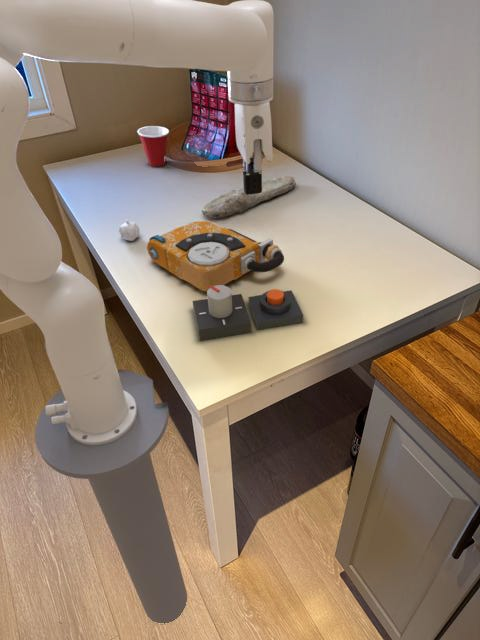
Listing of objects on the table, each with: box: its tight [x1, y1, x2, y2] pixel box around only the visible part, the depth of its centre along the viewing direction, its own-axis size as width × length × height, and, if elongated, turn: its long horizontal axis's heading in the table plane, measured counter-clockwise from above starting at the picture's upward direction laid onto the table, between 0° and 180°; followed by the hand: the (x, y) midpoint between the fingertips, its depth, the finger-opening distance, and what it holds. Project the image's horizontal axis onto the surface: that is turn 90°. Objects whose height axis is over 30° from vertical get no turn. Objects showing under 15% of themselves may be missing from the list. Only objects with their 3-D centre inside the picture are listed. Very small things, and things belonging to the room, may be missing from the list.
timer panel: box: [192, 293, 252, 341], centre depth 104 cm, size 11×10×3 cm
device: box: [146, 219, 285, 292], centre depth 119 cm, size 23×8×30 cm
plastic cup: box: [136, 125, 170, 168], centre depth 171 cm, size 11×11×12 cm
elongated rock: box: [201, 175, 297, 220], centre depth 148 cm, size 35×5×10 cm
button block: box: [248, 289, 304, 330], centre depth 106 cm, size 10×9×4 cm
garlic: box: [118, 219, 140, 242], centre depth 133 cm, size 6×5×5 cm
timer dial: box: [206, 285, 233, 318], centre depth 102 cm, size 5×5×5 cm
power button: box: [266, 288, 284, 305], centre depth 104 cm, size 4×4×2 cm
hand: (252, 191), depth 93 cm, fingers closed
